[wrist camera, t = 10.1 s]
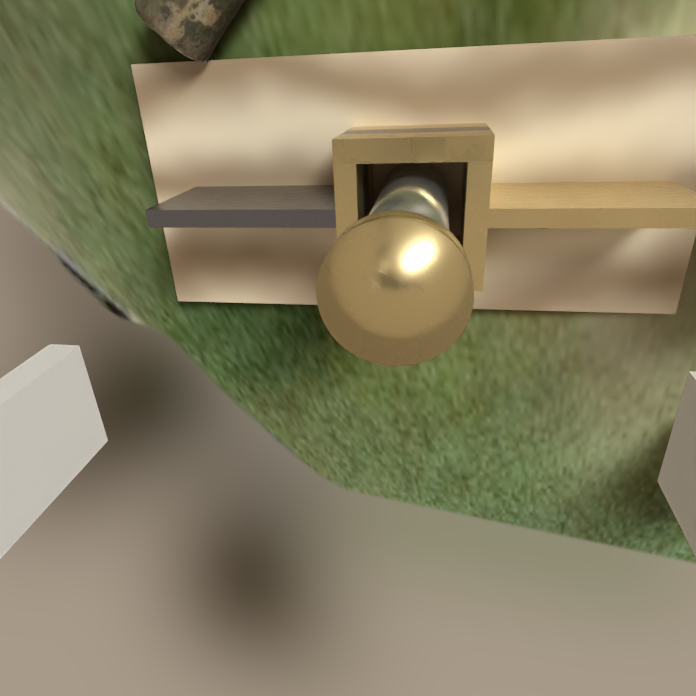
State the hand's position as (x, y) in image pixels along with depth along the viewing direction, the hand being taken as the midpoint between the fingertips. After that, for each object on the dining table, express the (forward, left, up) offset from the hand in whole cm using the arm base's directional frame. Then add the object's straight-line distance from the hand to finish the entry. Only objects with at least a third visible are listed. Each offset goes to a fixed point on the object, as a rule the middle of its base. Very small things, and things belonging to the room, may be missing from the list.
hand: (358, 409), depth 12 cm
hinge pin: (0, 0, -26) cm, 26 cm away
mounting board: (0, 0, -27) cm, 27 cm away
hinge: (0, 0, -26) cm, 26 cm away
